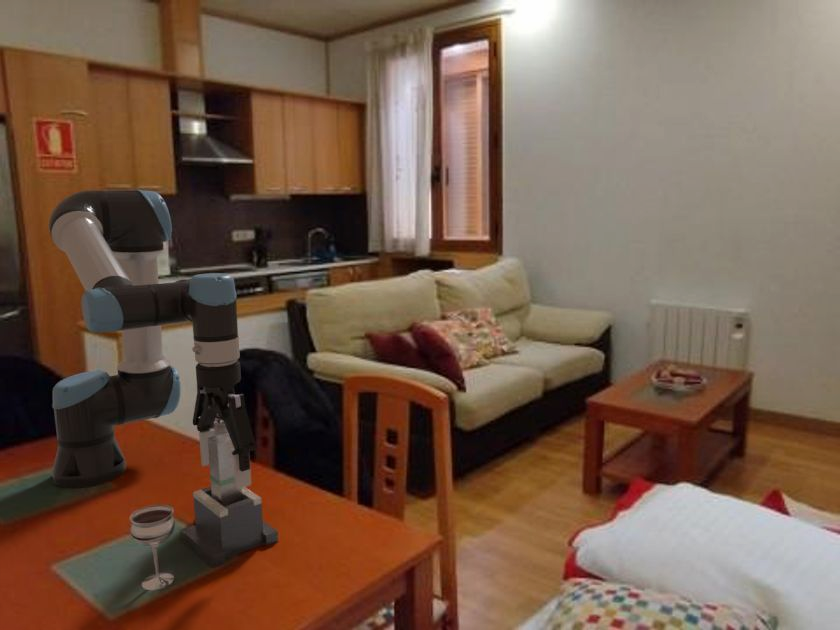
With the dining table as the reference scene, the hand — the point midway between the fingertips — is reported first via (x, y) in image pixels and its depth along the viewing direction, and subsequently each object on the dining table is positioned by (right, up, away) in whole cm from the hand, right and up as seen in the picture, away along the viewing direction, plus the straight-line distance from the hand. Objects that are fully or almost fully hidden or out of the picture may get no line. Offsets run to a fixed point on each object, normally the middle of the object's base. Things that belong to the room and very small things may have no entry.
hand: (225, 474), depth 118 cm
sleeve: (0, -13, +2) cm, 13 cm away
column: (0, -13, +2) cm, 13 cm away
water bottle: (-4, -11, +15) cm, 19 cm away
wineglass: (-8, -15, -10) cm, 20 cm away
